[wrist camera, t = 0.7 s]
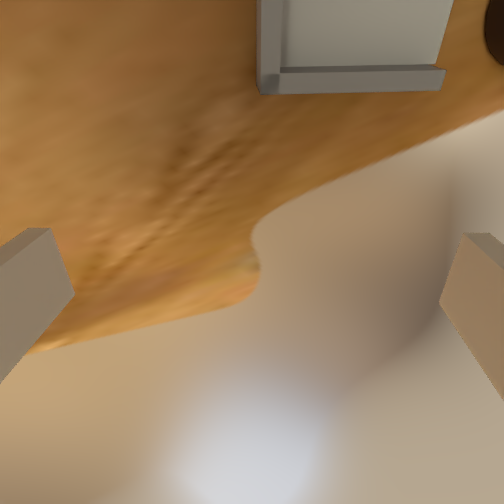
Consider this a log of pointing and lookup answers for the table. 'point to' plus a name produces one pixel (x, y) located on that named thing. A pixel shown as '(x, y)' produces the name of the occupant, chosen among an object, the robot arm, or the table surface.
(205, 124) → the table surface
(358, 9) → the green slab with knob
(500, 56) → the vinegar
